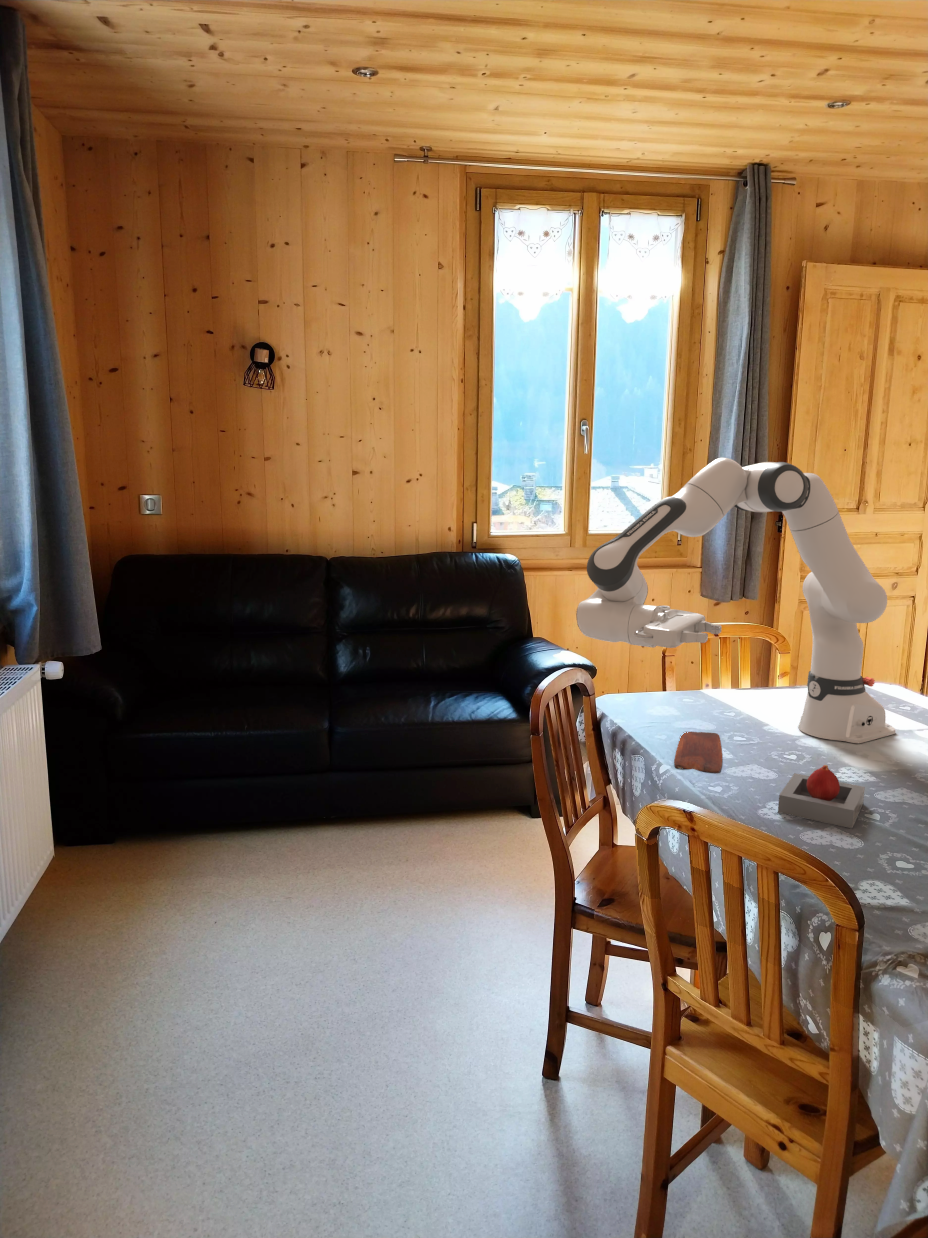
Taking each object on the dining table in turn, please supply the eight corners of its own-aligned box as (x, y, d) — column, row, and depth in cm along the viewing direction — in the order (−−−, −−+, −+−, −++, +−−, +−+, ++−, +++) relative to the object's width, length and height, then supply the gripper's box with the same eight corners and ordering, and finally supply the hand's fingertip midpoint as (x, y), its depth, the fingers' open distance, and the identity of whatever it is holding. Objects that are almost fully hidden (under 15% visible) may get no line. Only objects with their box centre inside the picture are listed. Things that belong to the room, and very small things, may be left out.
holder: (777, 812, 166) (779, 795, 165) (793, 789, 177) (794, 773, 176) (851, 828, 159) (853, 810, 159) (863, 804, 170) (864, 787, 169)
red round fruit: (799, 798, 170) (803, 759, 169) (828, 797, 171) (831, 758, 169) (814, 811, 165) (818, 770, 163) (843, 810, 165) (847, 769, 164)
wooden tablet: (721, 776, 185) (722, 769, 185) (672, 771, 188) (673, 763, 188) (723, 736, 210) (724, 729, 210) (680, 732, 213) (681, 725, 213)
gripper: (631, 619, 177) (698, 627, 170) (665, 604, 194) (728, 610, 187) (629, 650, 179) (696, 659, 172) (664, 632, 196) (726, 639, 189)
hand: (713, 633), depth 180 cm, fingers open, 8 cm apart
